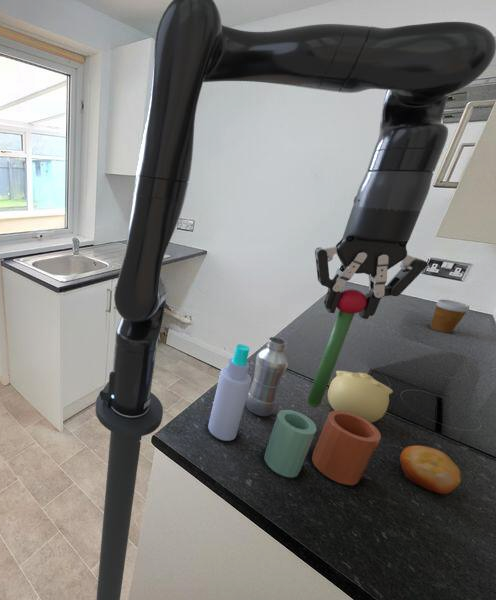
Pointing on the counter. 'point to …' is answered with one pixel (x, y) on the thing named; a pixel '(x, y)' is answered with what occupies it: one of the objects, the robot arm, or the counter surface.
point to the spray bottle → (230, 396)
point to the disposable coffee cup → (448, 315)
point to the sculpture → (359, 395)
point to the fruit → (430, 469)
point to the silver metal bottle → (267, 377)
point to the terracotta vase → (345, 447)
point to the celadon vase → (289, 443)
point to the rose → (336, 341)
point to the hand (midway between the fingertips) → (346, 313)
